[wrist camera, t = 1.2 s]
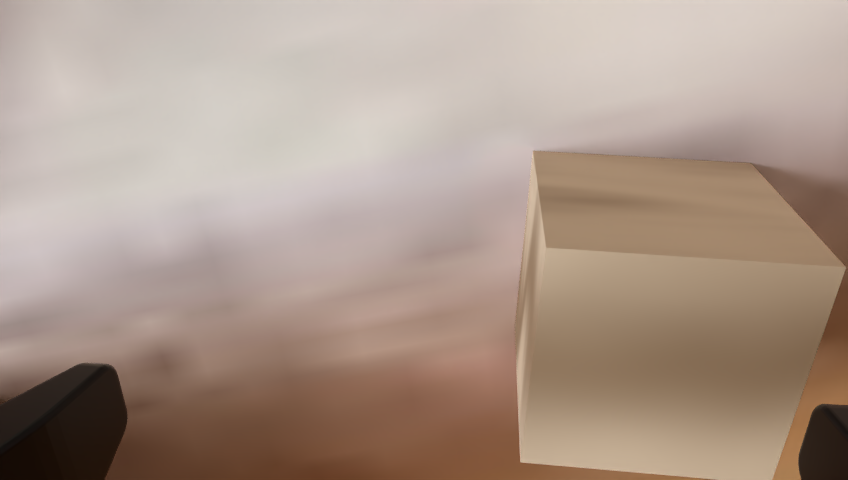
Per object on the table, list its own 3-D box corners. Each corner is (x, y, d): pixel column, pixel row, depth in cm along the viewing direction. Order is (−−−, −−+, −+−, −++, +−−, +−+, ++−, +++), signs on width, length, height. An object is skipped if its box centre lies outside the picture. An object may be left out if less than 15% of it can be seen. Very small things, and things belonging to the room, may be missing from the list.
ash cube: (704, 339, 22) (770, 484, 17) (514, 325, 22) (520, 462, 17) (749, 161, 19) (846, 267, 14) (533, 149, 20) (546, 247, 14)
